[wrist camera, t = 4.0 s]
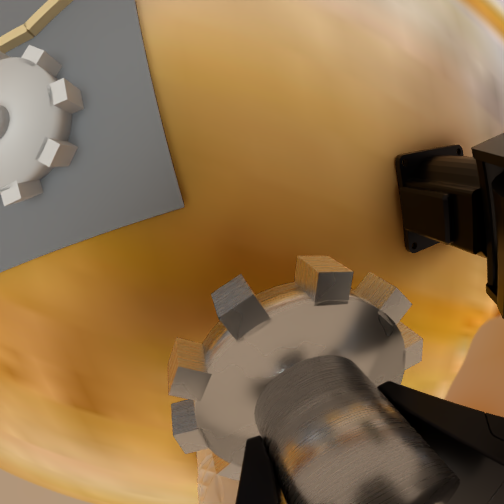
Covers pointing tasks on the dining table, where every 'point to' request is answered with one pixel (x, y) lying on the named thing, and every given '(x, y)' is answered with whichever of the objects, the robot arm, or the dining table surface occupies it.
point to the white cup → (213, 482)
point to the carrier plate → (76, 126)
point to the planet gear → (309, 389)
